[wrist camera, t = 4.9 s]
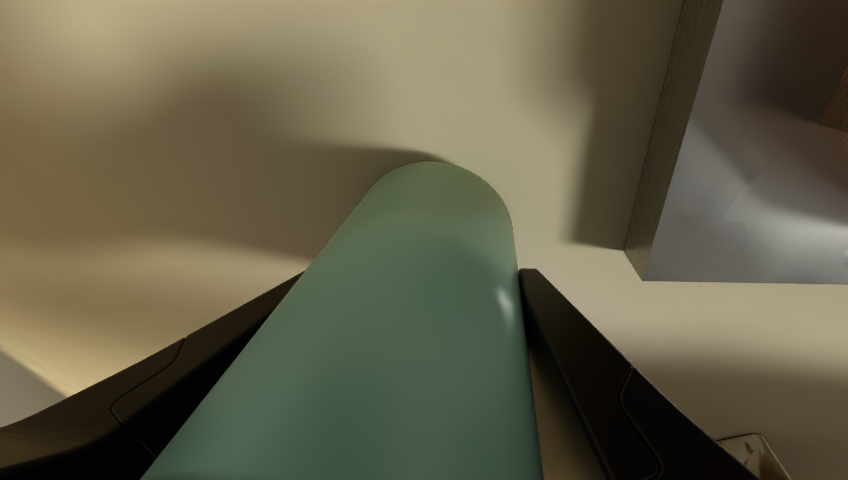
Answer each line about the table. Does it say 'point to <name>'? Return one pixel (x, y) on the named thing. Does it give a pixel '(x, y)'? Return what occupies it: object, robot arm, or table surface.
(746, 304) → the table surface
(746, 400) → the table surface
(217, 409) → the teal capped cylinder
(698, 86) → the motor mount
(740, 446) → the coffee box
